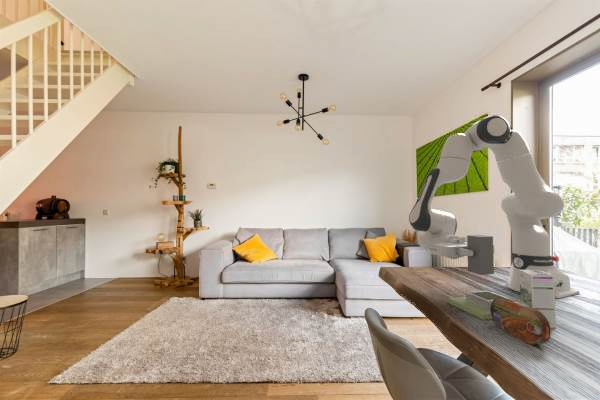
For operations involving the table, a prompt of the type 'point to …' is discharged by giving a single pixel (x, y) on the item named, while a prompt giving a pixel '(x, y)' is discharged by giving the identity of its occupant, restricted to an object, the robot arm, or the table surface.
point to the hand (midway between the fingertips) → (482, 253)
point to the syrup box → (538, 293)
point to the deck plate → (476, 303)
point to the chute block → (481, 254)
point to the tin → (520, 321)
